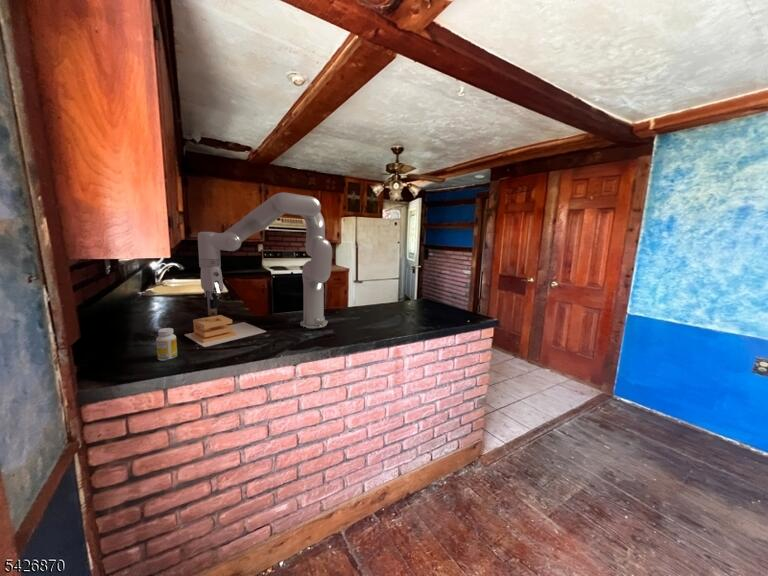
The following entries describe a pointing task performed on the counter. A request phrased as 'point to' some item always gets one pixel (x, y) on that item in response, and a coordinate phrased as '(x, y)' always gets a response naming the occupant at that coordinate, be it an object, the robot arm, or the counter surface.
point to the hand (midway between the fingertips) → (212, 307)
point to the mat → (241, 332)
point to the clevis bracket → (212, 328)
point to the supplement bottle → (166, 344)
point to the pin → (210, 311)
